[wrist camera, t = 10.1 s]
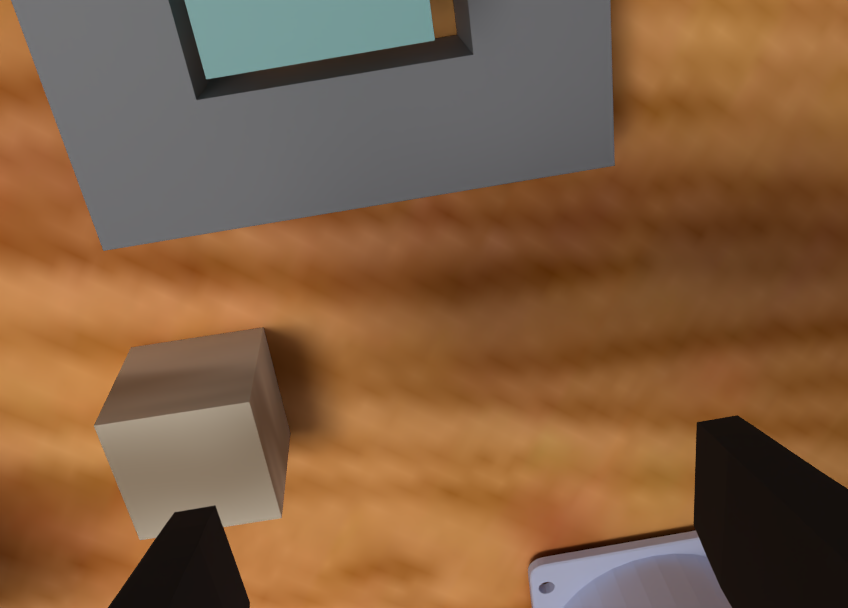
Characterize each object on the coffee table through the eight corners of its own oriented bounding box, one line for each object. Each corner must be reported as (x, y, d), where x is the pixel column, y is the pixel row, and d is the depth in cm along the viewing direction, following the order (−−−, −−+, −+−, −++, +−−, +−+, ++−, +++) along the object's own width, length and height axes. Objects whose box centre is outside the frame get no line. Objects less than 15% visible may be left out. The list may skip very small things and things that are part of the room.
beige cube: (290, 431, 22) (281, 517, 19) (168, 450, 22) (139, 539, 19) (263, 325, 21) (249, 401, 18) (131, 345, 21) (94, 425, 17)
